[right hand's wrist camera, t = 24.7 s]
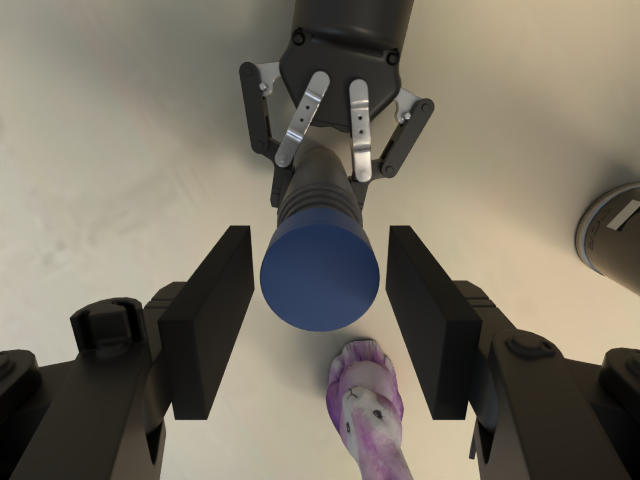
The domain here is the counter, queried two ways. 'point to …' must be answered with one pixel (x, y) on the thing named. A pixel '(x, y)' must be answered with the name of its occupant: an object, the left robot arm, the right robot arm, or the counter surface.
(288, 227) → the cap
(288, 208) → the bottle
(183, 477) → the counter surface
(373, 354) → the figurine
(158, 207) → the counter surface
